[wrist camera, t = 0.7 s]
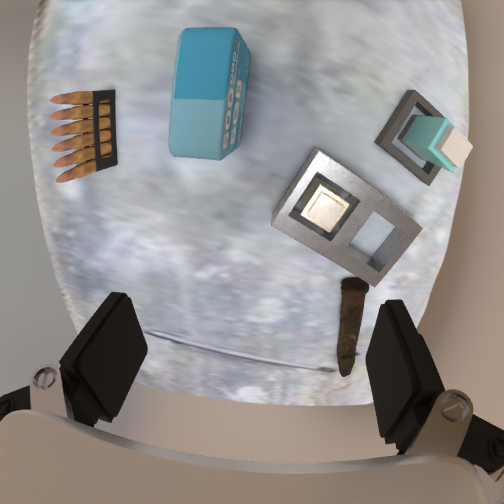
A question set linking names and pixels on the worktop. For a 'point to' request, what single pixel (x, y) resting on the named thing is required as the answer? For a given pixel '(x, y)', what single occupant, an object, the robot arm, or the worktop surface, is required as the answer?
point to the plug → (436, 141)
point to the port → (342, 218)
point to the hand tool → (350, 322)
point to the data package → (208, 93)
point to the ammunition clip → (86, 132)
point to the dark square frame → (395, 124)
